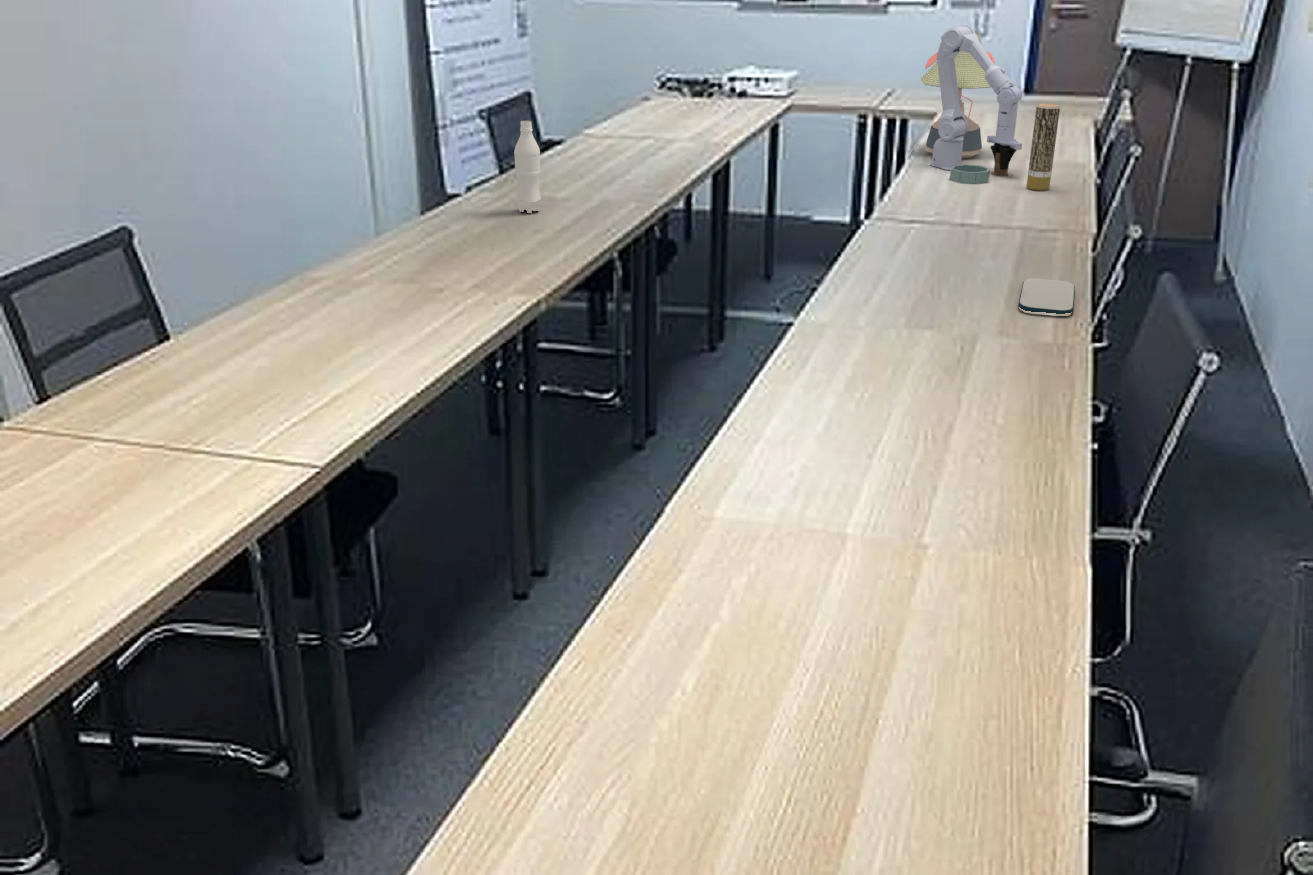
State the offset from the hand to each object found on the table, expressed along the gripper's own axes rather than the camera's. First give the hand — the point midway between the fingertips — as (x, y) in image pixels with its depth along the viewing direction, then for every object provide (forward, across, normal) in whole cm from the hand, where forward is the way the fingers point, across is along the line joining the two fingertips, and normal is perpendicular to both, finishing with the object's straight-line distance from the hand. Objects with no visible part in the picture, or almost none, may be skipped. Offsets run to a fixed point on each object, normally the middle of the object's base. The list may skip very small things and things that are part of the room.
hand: (1001, 168), depth 398 cm
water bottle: (+2, +15, +155) cm, 156 cm away
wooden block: (+2, 0, 0) cm, 2 cm away
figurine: (+2, +64, -29) cm, 70 cm away
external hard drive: (+3, -110, +78) cm, 135 cm away
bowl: (+2, -2, +14) cm, 14 cm away
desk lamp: (+2, +32, -6) cm, 32 cm away
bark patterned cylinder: (+2, -21, +3) cm, 21 cm away
